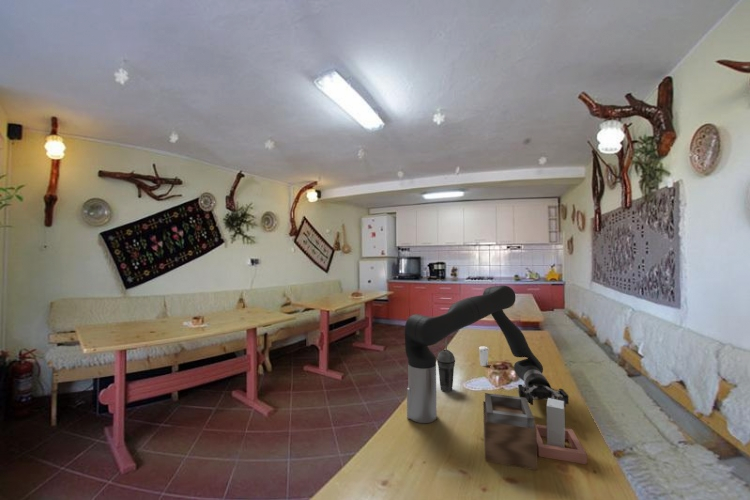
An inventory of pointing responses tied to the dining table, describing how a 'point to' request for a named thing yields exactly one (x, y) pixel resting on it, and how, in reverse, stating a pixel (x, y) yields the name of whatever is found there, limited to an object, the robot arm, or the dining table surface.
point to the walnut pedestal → (509, 431)
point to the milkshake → (483, 355)
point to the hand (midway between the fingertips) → (547, 403)
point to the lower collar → (561, 453)
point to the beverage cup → (446, 369)
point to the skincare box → (555, 423)
